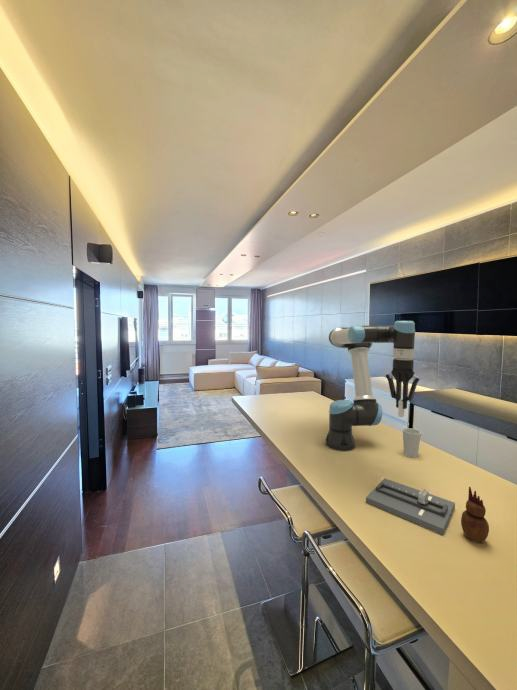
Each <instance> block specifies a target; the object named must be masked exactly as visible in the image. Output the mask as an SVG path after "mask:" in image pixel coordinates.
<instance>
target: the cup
mask: <svg viewBox="0 0 517 690" xmlns="http://www.w3.org/2000/svg"><path fill="white" fill-rule="evenodd" d="M421 435H422V432H421V430H419V429H416V428H412V427H411V428H409V427H408V428H407V427H404V428H403V429H402V442H403V444H402V445H403V455H404V456H405V457H407V458H413V459H414V458H415V459H416V458H418V457H419V451H420V442H421Z"/></svg>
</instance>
